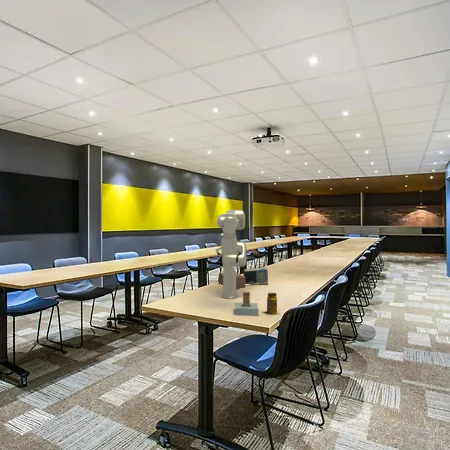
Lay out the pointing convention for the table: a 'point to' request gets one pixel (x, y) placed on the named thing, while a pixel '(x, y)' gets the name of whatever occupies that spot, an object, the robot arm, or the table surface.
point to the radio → (256, 276)
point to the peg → (246, 299)
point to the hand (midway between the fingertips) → (229, 262)
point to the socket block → (246, 309)
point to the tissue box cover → (239, 280)
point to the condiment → (271, 304)
